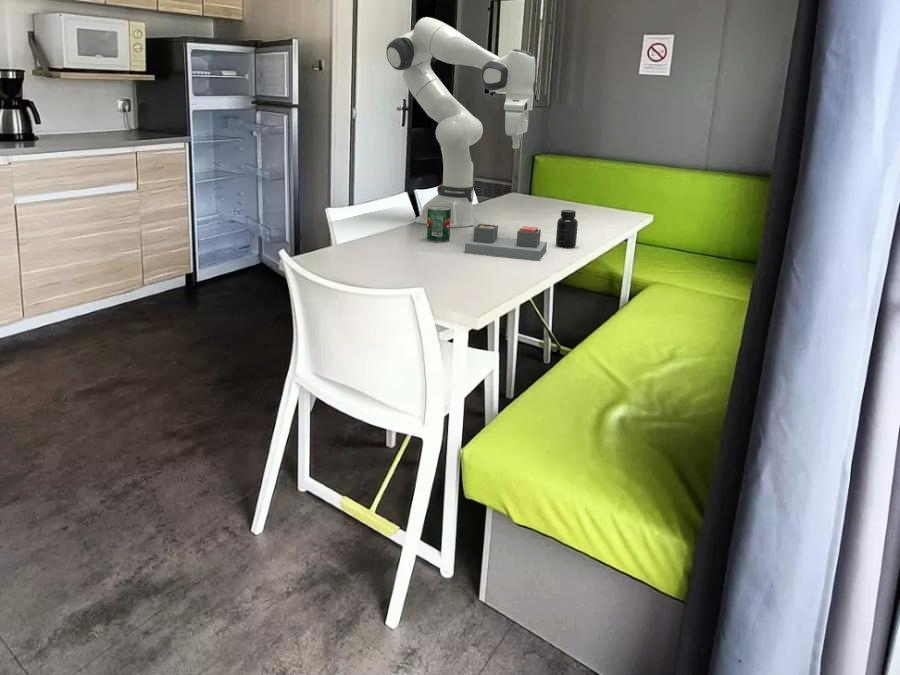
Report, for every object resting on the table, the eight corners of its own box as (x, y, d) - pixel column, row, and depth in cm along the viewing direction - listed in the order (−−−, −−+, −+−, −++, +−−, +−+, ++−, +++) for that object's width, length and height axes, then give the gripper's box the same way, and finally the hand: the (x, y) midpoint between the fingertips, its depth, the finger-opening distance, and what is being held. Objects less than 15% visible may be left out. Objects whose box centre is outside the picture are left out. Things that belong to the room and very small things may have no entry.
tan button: (477, 240, 230) (477, 227, 229) (480, 237, 234) (481, 225, 233) (490, 241, 229) (491, 229, 228) (493, 238, 233) (494, 226, 232)
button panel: (464, 252, 228) (465, 229, 225) (475, 243, 240) (476, 221, 238) (539, 260, 222) (541, 236, 219) (546, 250, 234) (548, 227, 232)
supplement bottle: (561, 242, 247) (565, 208, 243) (579, 246, 243) (583, 211, 239) (551, 246, 242) (554, 210, 237) (568, 249, 238) (572, 213, 233)
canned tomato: (423, 237, 246) (424, 205, 242) (445, 236, 248) (446, 205, 244) (430, 242, 239) (432, 210, 235) (453, 242, 241) (454, 209, 237)
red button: (520, 241, 226) (521, 228, 225) (522, 238, 230) (523, 226, 229) (534, 242, 225) (535, 230, 224) (536, 239, 229) (537, 227, 228)
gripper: (515, 102, 240) (512, 145, 244) (502, 104, 221) (499, 150, 226) (534, 103, 238) (530, 146, 243) (523, 105, 219) (519, 151, 224)
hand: (515, 148), depth 234 cm, fingers closed
